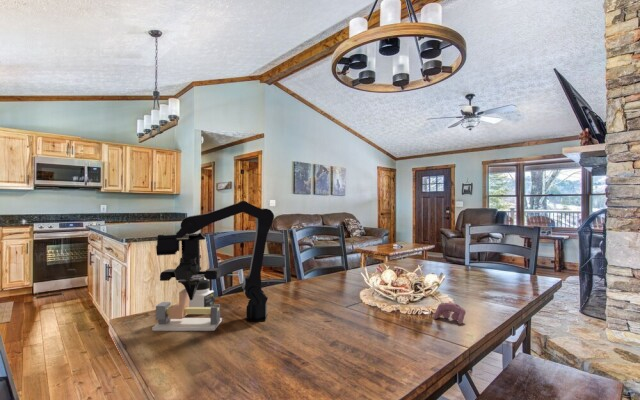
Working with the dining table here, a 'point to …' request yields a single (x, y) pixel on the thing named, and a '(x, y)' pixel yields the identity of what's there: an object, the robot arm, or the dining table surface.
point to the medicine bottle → (202, 295)
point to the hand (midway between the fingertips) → (191, 299)
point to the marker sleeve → (180, 306)
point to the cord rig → (187, 323)
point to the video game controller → (452, 307)
